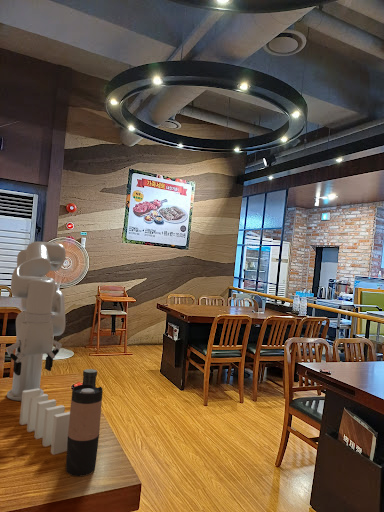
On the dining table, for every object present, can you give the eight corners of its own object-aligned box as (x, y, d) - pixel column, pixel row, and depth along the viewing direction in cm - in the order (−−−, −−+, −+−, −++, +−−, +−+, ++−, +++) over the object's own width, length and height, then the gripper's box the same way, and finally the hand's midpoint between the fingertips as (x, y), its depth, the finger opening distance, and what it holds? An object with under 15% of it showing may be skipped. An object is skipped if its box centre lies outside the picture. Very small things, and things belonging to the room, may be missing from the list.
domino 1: (19, 423, 119) (22, 390, 119) (35, 419, 122) (38, 388, 122) (21, 425, 117) (24, 392, 118) (37, 421, 121) (40, 389, 121)
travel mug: (66, 479, 91) (73, 394, 91) (63, 462, 98) (70, 384, 98) (98, 474, 94) (105, 393, 94) (93, 459, 101) (100, 383, 101)
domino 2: (26, 430, 114) (29, 396, 115) (43, 426, 118) (46, 393, 118) (28, 432, 113) (32, 398, 113) (45, 428, 117) (48, 395, 117)
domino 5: (50, 452, 102) (53, 415, 103) (67, 447, 106) (71, 411, 106) (53, 454, 101) (56, 417, 102) (70, 449, 105) (74, 413, 105)
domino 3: (34, 437, 110) (37, 402, 111) (50, 432, 114) (53, 399, 114) (36, 439, 109) (39, 404, 109) (53, 434, 113) (56, 400, 113)
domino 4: (42, 444, 106) (45, 408, 107) (59, 439, 110) (62, 404, 110) (44, 446, 105) (47, 410, 106) (61, 442, 109) (64, 406, 109)
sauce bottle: (88, 445, 108) (94, 375, 108) (68, 441, 109) (74, 372, 110) (98, 435, 114) (104, 369, 115) (79, 432, 116) (85, 366, 116)
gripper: (58, 315, 129) (54, 365, 129) (5, 317, 117) (0, 372, 117) (69, 319, 124) (64, 371, 124) (14, 321, 112) (8, 379, 112)
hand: (33, 372), depth 120 cm, fingers open, 9 cm apart
